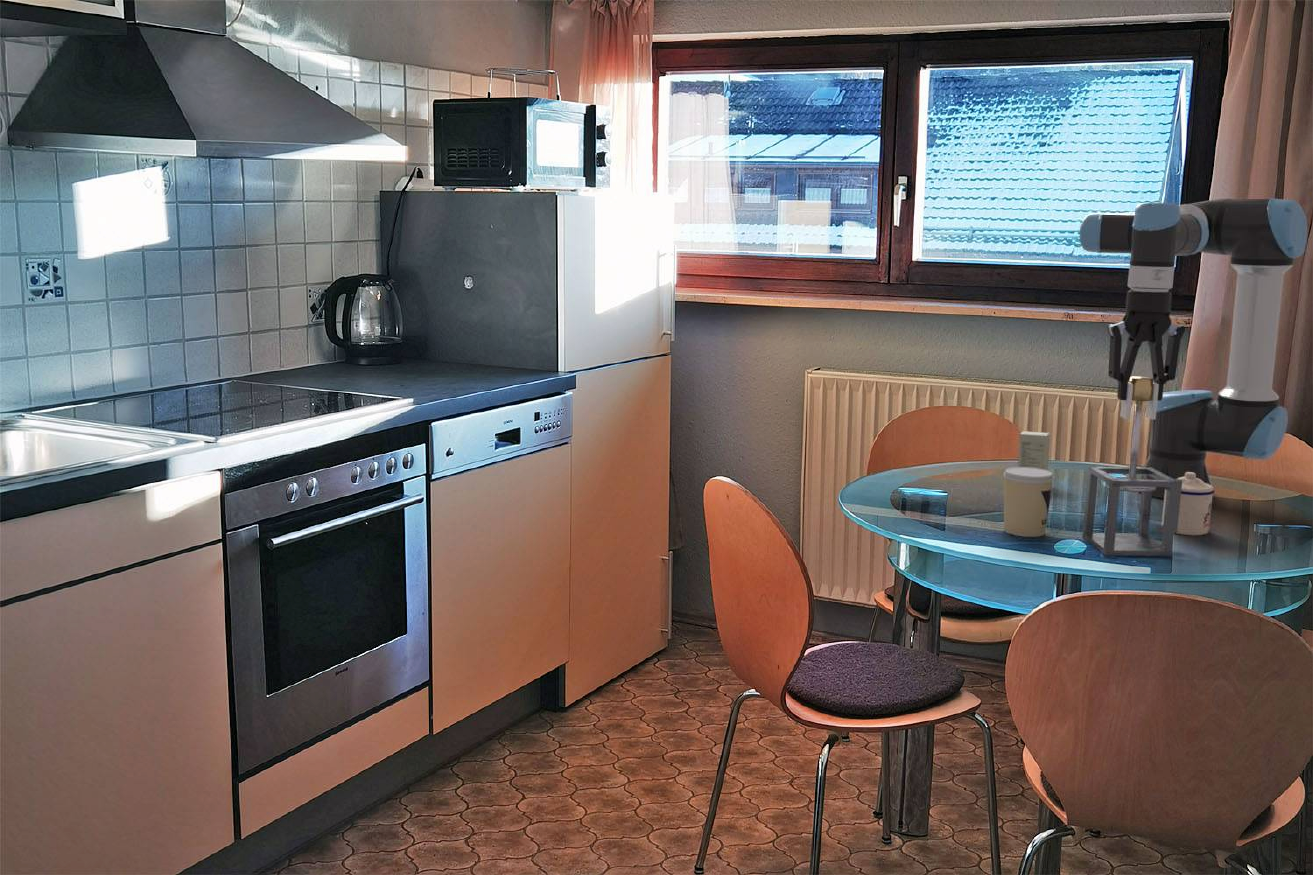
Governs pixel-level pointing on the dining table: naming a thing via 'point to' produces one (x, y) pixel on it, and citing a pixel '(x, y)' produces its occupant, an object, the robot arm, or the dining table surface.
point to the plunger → (1138, 426)
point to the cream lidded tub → (1026, 500)
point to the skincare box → (1033, 450)
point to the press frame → (1140, 541)
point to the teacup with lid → (1193, 506)
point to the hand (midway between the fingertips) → (1137, 417)
